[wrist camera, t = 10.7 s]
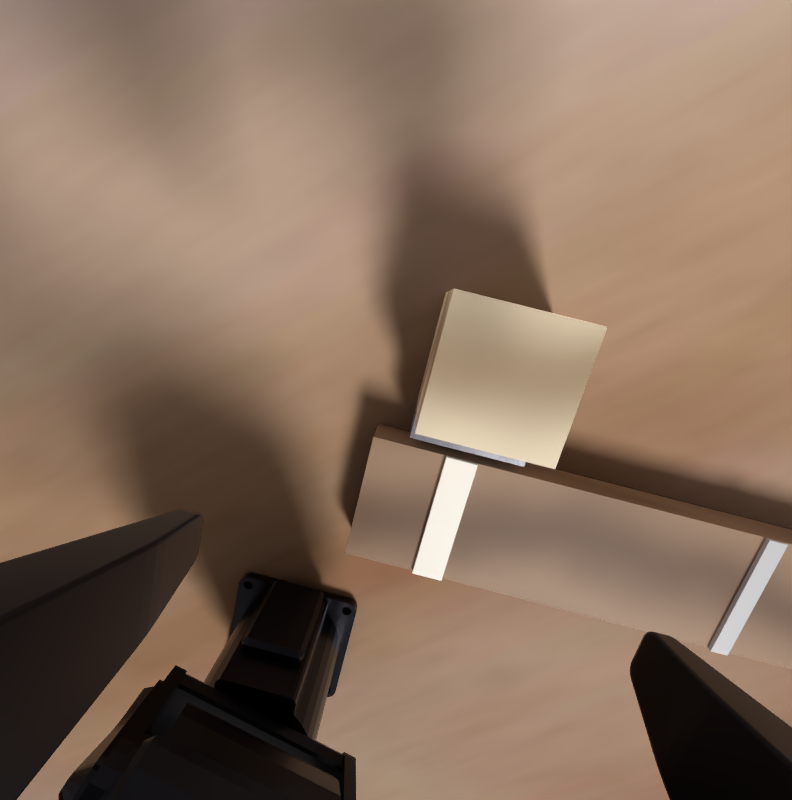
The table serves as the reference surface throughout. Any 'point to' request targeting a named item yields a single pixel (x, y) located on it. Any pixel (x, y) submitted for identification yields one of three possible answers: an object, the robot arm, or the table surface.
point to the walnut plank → (578, 546)
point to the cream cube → (504, 379)
